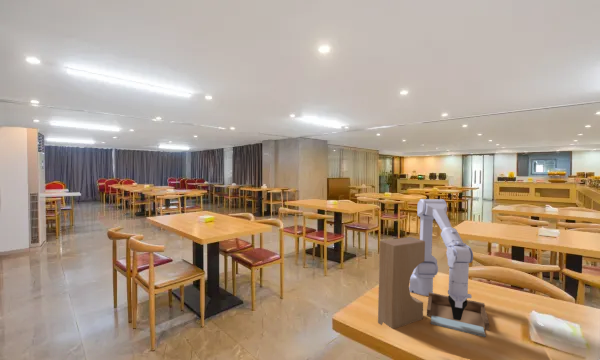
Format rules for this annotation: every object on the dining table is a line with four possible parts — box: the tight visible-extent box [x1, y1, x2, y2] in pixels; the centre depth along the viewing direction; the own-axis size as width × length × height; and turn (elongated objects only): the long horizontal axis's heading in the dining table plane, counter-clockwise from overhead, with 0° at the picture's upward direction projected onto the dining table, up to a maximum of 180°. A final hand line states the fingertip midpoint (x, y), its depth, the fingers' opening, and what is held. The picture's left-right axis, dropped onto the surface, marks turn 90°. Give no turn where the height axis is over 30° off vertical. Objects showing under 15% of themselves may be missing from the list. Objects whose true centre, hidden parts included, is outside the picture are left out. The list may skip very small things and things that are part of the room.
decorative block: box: [377, 236, 425, 330], centre depth 100 cm, size 15×8×30 cm, turn 116°
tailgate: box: [430, 315, 487, 338], centre depth 96 cm, size 16×1×6 cm
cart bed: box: [426, 292, 490, 332], centre depth 104 cm, size 19×14×5 cm
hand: (456, 318), depth 96 cm, fingers closed
